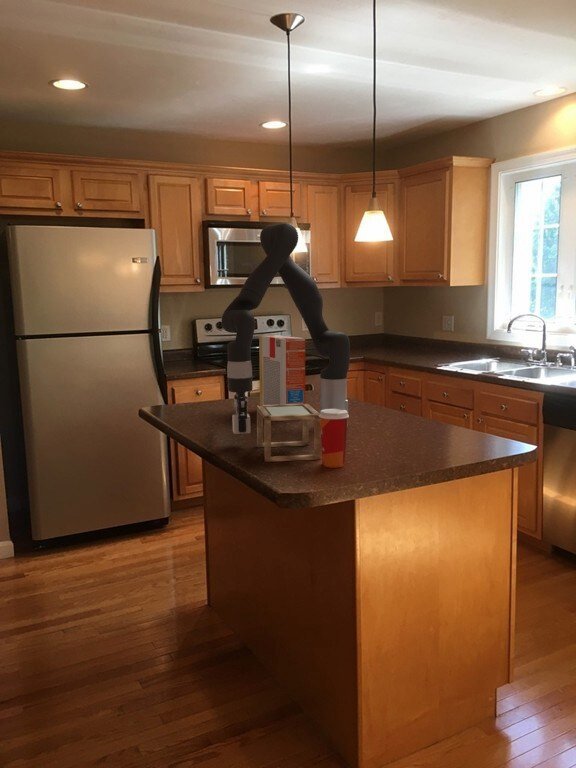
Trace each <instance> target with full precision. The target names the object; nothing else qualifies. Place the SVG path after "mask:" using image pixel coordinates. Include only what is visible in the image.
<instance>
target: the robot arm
mask: <svg viewBox="0 0 576 768" xmlns="http://www.w3.org/2000/svg"><path fill="white" fill-rule="evenodd" d="M259 238H260V239H259V240H260V244H261V248H262V249H263V251H264V253H265V255H266V256H265V257H264V259H263V260H262V261H261V262H260V263H259V264H258V265H257V266H256V268H254V269H253V271H252V272H251V273H250V274H249V275H248V277H247V279H246V280H245V281H244V284H243V285H242V288H241V290H240V291H239V294H237V296H236V297H235V298H234V299H233V300H232V302H230V304H229V305H228V306H227V308H225V310H224V312H223V313H222V317H221V327H222V328H223V330H224V331H226V332H227V333H233V334H236V335H235V338H234V340H232V341H230V342H228V344H227V347H226V348H227V349H226V350H227V351H226V352H227V366H226V368H227V370H226V372H227V390H228V392H229V393H235V394H234V396H233V402H234V403H233V404H234V412H235V414H238V422H239V432H240V433H242V432H246V419H247V414H248V403H249V401H248V397H247V395H246V393H248V392H249V393H250V392H252V391H253V366H252V352H251V351H252V350H251V348H252V342H253V339H254V335H255V334H254V333H255V330H256V319H255V316H254V314H253V312H252V310H256V309H257V308H259V306H260V304H261V303H262V301H263V299H264V297H265V295H266V293H267V291H268V289H269V287H270V286H271V283H272V282H273V280H274V278H275V277H276V276H277V274H279V276H280V278H281V280H282V282H283V284H284V285H285V287H286V289H287V291H288V293H289V294H290V298H291V299H292V301H293V303H294V305H295V307H296V308H297V310H298V311H299V314H300V316H301V318H302V320H303V322H304V324H305V326H306V328H307V330H308V333H309V334H310V338H311V339H312V340H311V341H312V343H313V346H314V348H315V350H316V352H317V354H319V356H320V357H322V358H325V359H329V360H328V365H327V366H326V367H324V368H322V369H321V370H320V373H319V374H320V375H319V376H320V378H319V381H320V382H319V383H320V385H319V387H320V389H319V390H320V391H319V395H320V396H319V399H320V400H319V412H320V411H321V410H324V409H338V410H339V409H342V410H346V411H347V412H348V413H349V400H348V399H347V396H348V394H347V393H348V392H347V388H348V385H347V384H348V382H347V379H348V372H349V371H350V370H349V369H350V359H351V357H350V356H351V342H350V341H351V340H350V339H349V336H348V335H347V334H346V333H345V332H341V331H331V330H330V329H329V327H328V325H327V324H326V321H325V320H324V316H323V307H324V306H323V305H324V301H323V300H324V299H323V296H322V293H321V291H320V289H319V288H318V285H317V283H316V282H315V280H314V279H313V277H312V276H311V275H309V274H308V272H306V271H305V270H304V269H303V268H302V267H301V266H300V265H298V264H297V263H296V262H295V261H294V259H293V258H292V256H291V254H292V253H293V252H294V250H295V249H296V248H297V245H298V241H299V233H298V230H297V228H296V227H295V226H294V225H293V224H291V223H289V222H283V223H278V224H276V223H275V224H272V225H267V226H265V227H263V228H262V229H261V231H260V236H259ZM240 414H244V415H240ZM348 425H349V422H348V423H347V428H349V426H348ZM242 434H243V433H242Z"/></svg>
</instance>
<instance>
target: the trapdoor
mask: <svg viewBox="0 0 576 768" xmlns="http://www.w3.org/2000/svg"><path fill="white" fill-rule="evenodd" d="M266 411H267V412H268V414H269V415H297V414H310V413H309V412H308V411H307V410H306V409H305V408H304V407H303V406H290V407H266Z"/></svg>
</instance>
